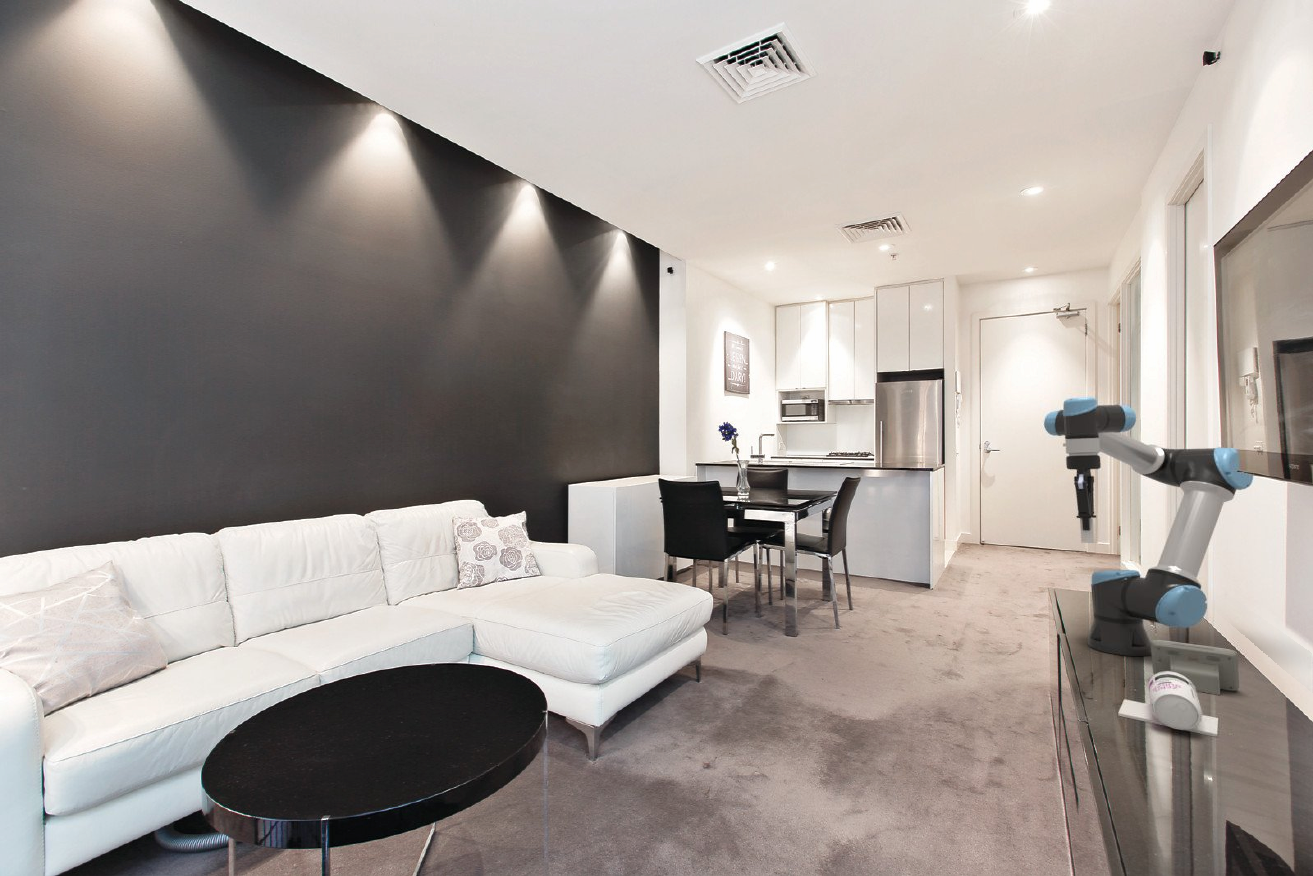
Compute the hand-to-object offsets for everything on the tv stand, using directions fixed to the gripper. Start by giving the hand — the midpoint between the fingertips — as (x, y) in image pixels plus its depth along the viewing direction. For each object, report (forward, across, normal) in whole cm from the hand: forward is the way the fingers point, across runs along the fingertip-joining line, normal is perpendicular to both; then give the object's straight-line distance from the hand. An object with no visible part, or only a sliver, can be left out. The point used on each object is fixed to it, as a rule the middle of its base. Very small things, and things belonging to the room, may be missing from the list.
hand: (1087, 542), depth 160 cm
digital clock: (+35, -4, +20) cm, 40 cm away
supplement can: (+30, +18, +17) cm, 38 cm away
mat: (+34, +24, +16) cm, 45 cm away
